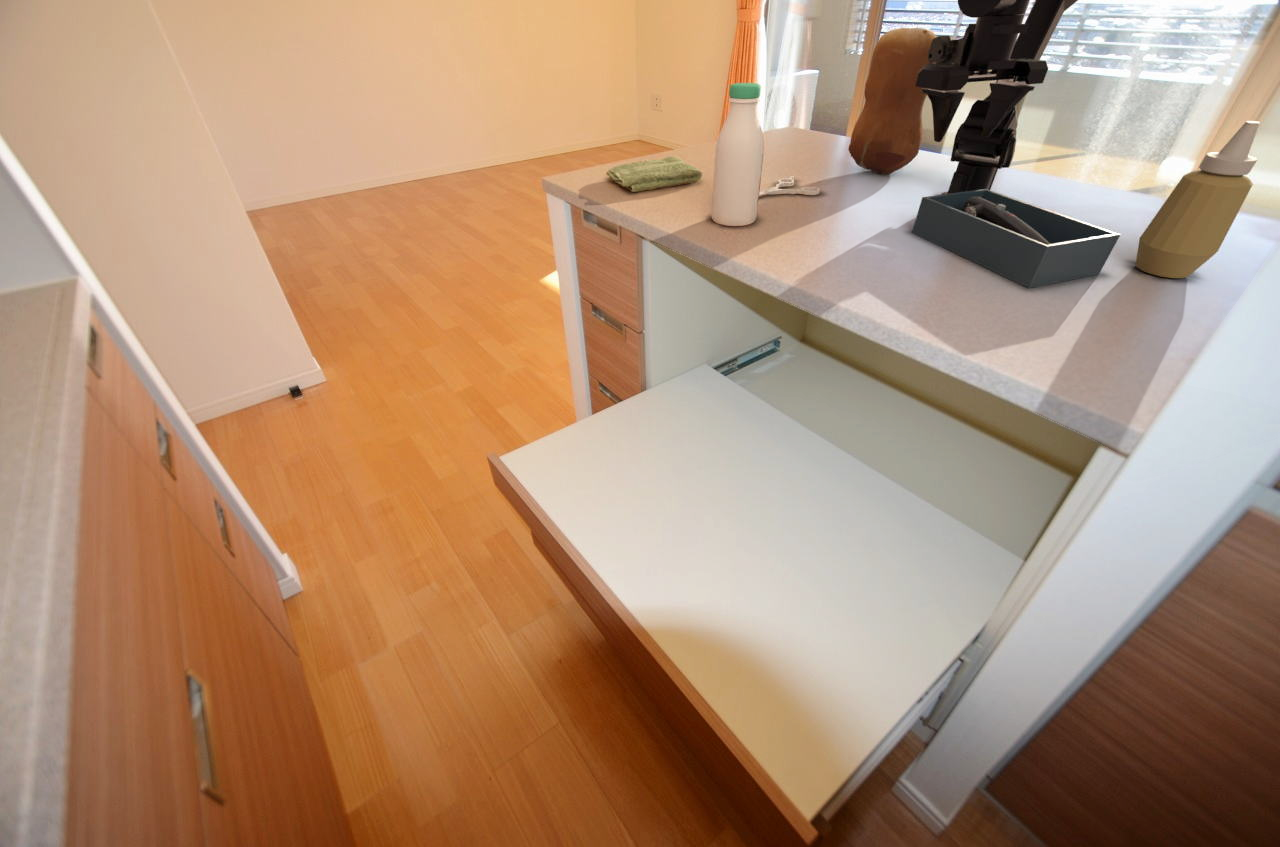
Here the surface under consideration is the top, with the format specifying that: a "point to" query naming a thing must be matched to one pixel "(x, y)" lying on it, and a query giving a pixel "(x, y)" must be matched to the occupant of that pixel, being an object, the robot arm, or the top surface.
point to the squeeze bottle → (1199, 210)
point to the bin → (1016, 239)
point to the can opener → (1000, 217)
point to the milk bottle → (738, 159)
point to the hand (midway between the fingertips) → (961, 139)
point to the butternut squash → (892, 102)
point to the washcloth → (654, 174)
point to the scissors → (789, 183)
